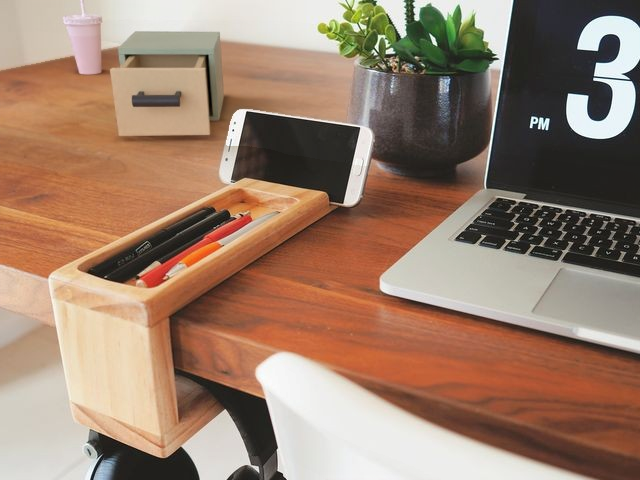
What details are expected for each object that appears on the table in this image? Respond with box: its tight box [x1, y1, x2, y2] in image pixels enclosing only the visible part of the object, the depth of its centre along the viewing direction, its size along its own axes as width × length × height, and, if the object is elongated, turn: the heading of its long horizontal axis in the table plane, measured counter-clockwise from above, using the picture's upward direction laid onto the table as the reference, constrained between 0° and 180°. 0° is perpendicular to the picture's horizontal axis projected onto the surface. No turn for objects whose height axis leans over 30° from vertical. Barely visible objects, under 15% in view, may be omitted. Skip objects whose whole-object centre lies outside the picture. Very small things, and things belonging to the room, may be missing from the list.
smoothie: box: [62, 0, 103, 75], centre depth 125 cm, size 6×6×14 cm
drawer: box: [109, 54, 211, 137], centre depth 95 cm, size 18×11×8 cm, turn 7°
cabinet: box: [117, 30, 225, 122], centre depth 105 cm, size 15×13×10 cm
